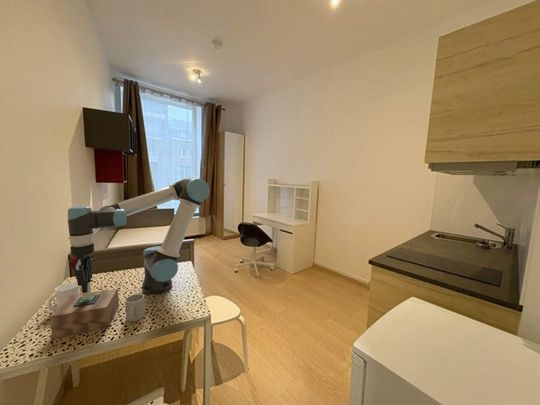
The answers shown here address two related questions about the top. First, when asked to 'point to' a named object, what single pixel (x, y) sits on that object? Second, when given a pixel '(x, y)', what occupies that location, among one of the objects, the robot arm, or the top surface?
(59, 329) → the socket block
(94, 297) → the peg
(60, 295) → the mug
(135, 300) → the cup
